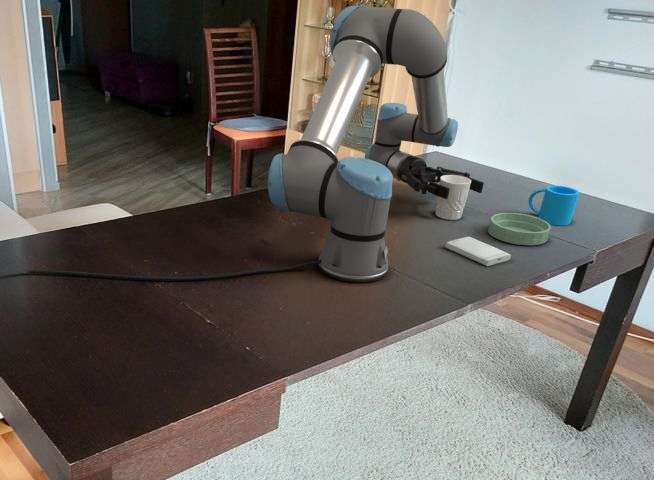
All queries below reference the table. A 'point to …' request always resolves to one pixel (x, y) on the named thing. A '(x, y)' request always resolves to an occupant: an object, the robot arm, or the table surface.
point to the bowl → (519, 228)
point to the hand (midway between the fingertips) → (465, 190)
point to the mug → (556, 204)
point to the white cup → (453, 197)
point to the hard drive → (478, 251)
